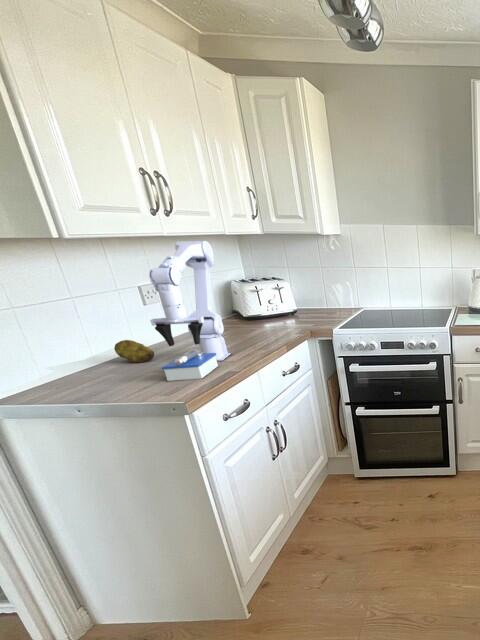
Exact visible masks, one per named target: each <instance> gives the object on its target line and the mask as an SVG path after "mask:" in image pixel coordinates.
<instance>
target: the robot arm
mask: <svg viewBox="0 0 480 640" xmlns="http://www.w3.org/2000/svg"><path fill="white" fill-rule="evenodd" d="M174 247H175V251H174V253H173V255H166V257H165V259H164V260H163V261H162V262H161V264H159V265H158V266H157V267H152V268H151V269H150V270H149V272H148V274H149V275H148V276H149V277H148V279H149V280H150V283H151V284H152V285H153V288H154V290H155V292H158V296H159V300H160V302H161V306H162V309H163V313H164V317H160V318H151V319H150V324H151V326H153V327H154V329H155V331H157V332H158V333H159V335H161V336H162V337H163V339H164V340H165V342H166V343H167V345H168V346H169V347H174V346H175V340H174V338H173V334H172V325H179V324H180V325H182V324H183V325H184V324H185V325H186V324H187V330H188V332H189V334H190V335H191V336H192V339H193V343H194V345H196V346H197V345H198V346H199V351H204V352H205V354H207V353H216V355H215V357H216V361H217V362H220V361H221V362H222V361H224V360H225V359H226V358H227V357H229V356H230V355H231V354H232V353H231V352H228V348H227V344H226V341H225V338H224V337H223V336H222V335H223V333H224V331H225V330H224V323H223V320H222V319H223V318H222V316H221V315H220V314H218V313H217V312H215V311H213V297H212V281H211V280H212V279H211V268H212V267H213V266H214V265H215V264H214V262H215V260H214V250H213V248H212V246H211V244H210V243H209V242H208V241H207V240H203V241H202V240H201V241H199V240H198V241H192V240H191V241H180V240H177V241H176V243H175V245H174ZM187 267H189V268H191V269H193V279H194V295H195V296H194V297H195V311H193V312H192V313H191V314H190V315H188V313H187V309H186V305H185V303H184V299H183V295H182V292H181V289H180V285H181V283H182V277H183V276H182V274H183V273H184V272H185V271H186V268H187Z"/></svg>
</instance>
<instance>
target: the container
mask: <svg viewBox="0 0 480 640" xmlns="http://www.w3.org/2000/svg"><path fill="white" fill-rule="evenodd" d="M215 355H216V353H207V354H205V355H203V356H199V357H195V358H193V359H191V360H190V361H188V362H187V363H185V364H183V365H181V366H178V365H176V364H175V359H173V360H172V361H170V362H168V363H166V364H164V365H163V366H161V370H163V371H164V374H165V377H166V380H167V382H174V381H185V380H198V379H203V378H204V377H206V376H207V375H209V374H210V373H211V372H212V371H214V370H215V369H216V368H218V367H219V365H218V361H216V357H215Z"/></svg>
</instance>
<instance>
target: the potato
mask: <svg viewBox="0 0 480 640" xmlns="http://www.w3.org/2000/svg"><path fill="white" fill-rule="evenodd" d="M113 349H114V351H115V354H116V355H118V357H120V358H122V359H125V360H127V361H128V362H129V363H144V362H149V361H151V360H153V359H154V358H155V352H154V351H153V350H152V349H151V348H150V347H148V346H147V345H144V344H143V343H141V342H137V341H135V340H132V339H124V340H120V341H119V342H116V343H115V345H114V348H113Z"/></svg>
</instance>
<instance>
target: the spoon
mask: <svg viewBox="0 0 480 640" xmlns="http://www.w3.org/2000/svg"><path fill="white" fill-rule="evenodd" d="M203 355H205V352H204V351H201V350H194V349H191V350H189V351H187V352H186V353H183V354H181V355H180V356H178V357H176V358H175V359H174V360H175V364H176V365H178V366H181V365H183V364H185V363H187V362H188V361H190V360H191V359H193V358H195V357H199V356H203Z"/></svg>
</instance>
